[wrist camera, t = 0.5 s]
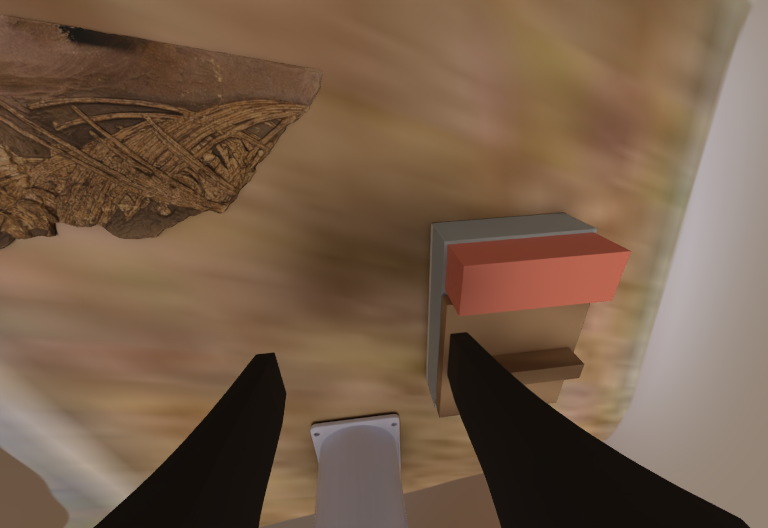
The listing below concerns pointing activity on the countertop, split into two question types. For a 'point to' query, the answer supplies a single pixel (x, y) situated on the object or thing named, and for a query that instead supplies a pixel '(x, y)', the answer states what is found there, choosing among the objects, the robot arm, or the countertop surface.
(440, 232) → the gray box
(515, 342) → the lid
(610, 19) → the countertop surface
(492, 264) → the red block
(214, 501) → the robot arm
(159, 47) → the wooden fragment
